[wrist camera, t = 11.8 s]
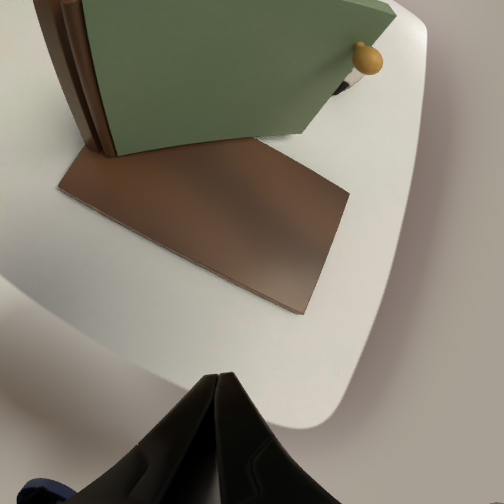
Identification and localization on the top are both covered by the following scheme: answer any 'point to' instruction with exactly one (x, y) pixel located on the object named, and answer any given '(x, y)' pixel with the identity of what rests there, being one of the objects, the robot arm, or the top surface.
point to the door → (215, 65)
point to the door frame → (206, 196)
